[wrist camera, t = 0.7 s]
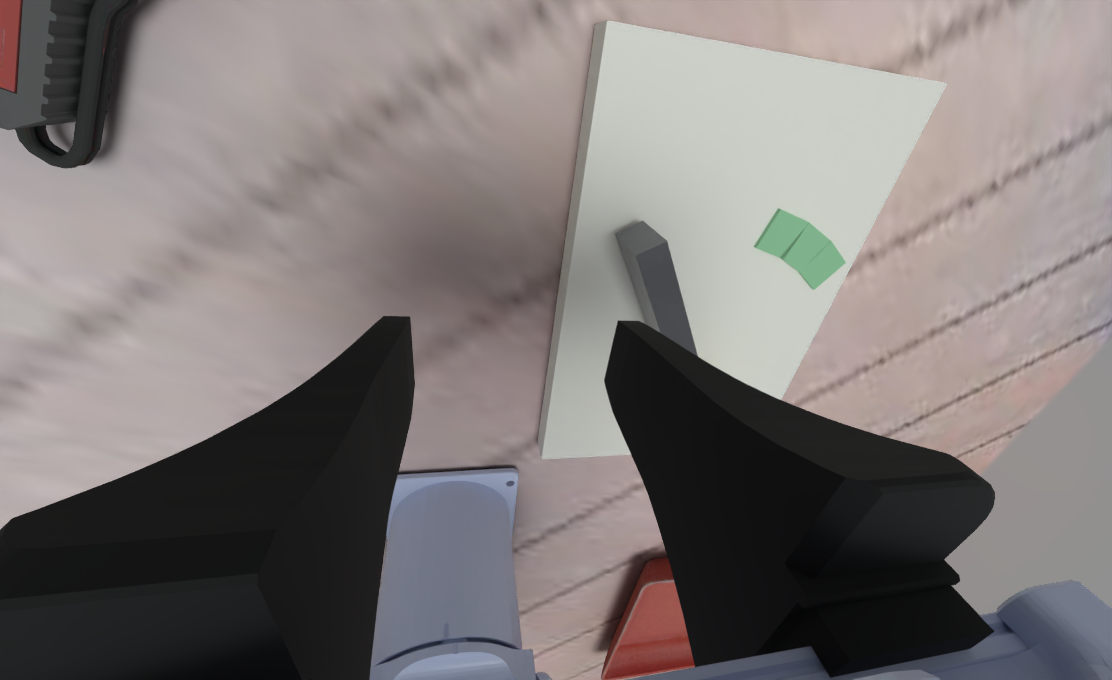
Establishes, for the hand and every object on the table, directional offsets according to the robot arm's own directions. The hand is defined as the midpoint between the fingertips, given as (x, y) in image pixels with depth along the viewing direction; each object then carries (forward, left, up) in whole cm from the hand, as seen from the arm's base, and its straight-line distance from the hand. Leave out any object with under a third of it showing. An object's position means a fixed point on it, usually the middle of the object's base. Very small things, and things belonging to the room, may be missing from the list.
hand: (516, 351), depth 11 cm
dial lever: (-3, -8, -7) cm, 11 cm away
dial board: (-2, -10, -8) cm, 13 cm away
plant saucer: (-34, -21, -9) cm, 41 cm away
